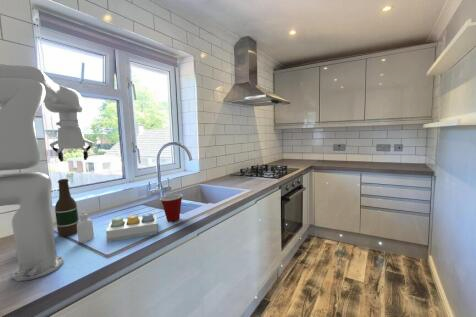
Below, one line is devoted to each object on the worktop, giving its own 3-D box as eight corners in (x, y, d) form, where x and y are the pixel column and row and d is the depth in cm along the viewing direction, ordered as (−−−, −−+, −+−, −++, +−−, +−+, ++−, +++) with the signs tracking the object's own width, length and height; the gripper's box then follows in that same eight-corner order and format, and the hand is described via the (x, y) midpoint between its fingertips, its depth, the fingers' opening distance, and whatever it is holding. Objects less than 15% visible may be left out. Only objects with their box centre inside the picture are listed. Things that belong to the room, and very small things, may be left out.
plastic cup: (168, 215, 124) (167, 192, 122) (187, 216, 121) (186, 193, 120) (156, 223, 113) (154, 198, 112) (177, 224, 111) (175, 199, 109)
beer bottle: (71, 236, 101) (65, 181, 99) (53, 237, 101) (46, 181, 99) (83, 229, 109) (78, 177, 106) (67, 229, 109) (60, 178, 106)
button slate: (153, 223, 104) (152, 215, 104) (142, 225, 103) (142, 217, 102) (153, 220, 108) (152, 212, 108) (143, 221, 107) (142, 214, 107)
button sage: (123, 228, 100) (122, 220, 100) (111, 229, 99) (110, 221, 98) (124, 224, 104) (123, 216, 104) (113, 226, 103) (112, 218, 103)
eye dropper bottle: (77, 240, 98) (74, 211, 96) (93, 235, 101) (90, 208, 100) (79, 243, 95) (75, 214, 93) (95, 239, 98) (92, 211, 97)
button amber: (138, 225, 102) (138, 217, 102) (127, 227, 101) (126, 219, 100) (139, 222, 106) (138, 214, 106) (128, 223, 105) (127, 216, 105)
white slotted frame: (157, 233, 102) (156, 223, 101) (107, 242, 95) (106, 231, 95) (156, 223, 113) (156, 214, 112) (111, 230, 106) (110, 220, 106)
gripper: (44, 124, 107) (49, 162, 109) (89, 124, 113) (93, 159, 115) (50, 125, 114) (54, 161, 116) (92, 124, 120) (95, 158, 122)
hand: (73, 160), depth 115 cm, fingers open, 9 cm apart
